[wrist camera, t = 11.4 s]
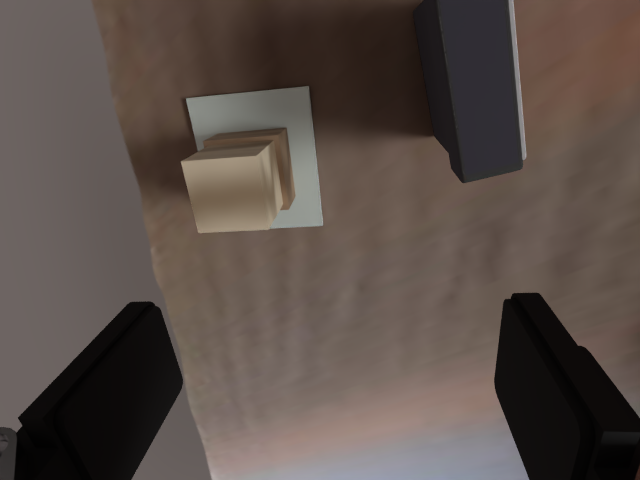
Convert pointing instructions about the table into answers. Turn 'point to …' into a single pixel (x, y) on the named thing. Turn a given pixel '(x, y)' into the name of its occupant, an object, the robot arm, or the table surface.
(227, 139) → the walnut block
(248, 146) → the maple cube
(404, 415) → the table surface
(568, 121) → the table surface
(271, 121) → the board
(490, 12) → the black upright slab
